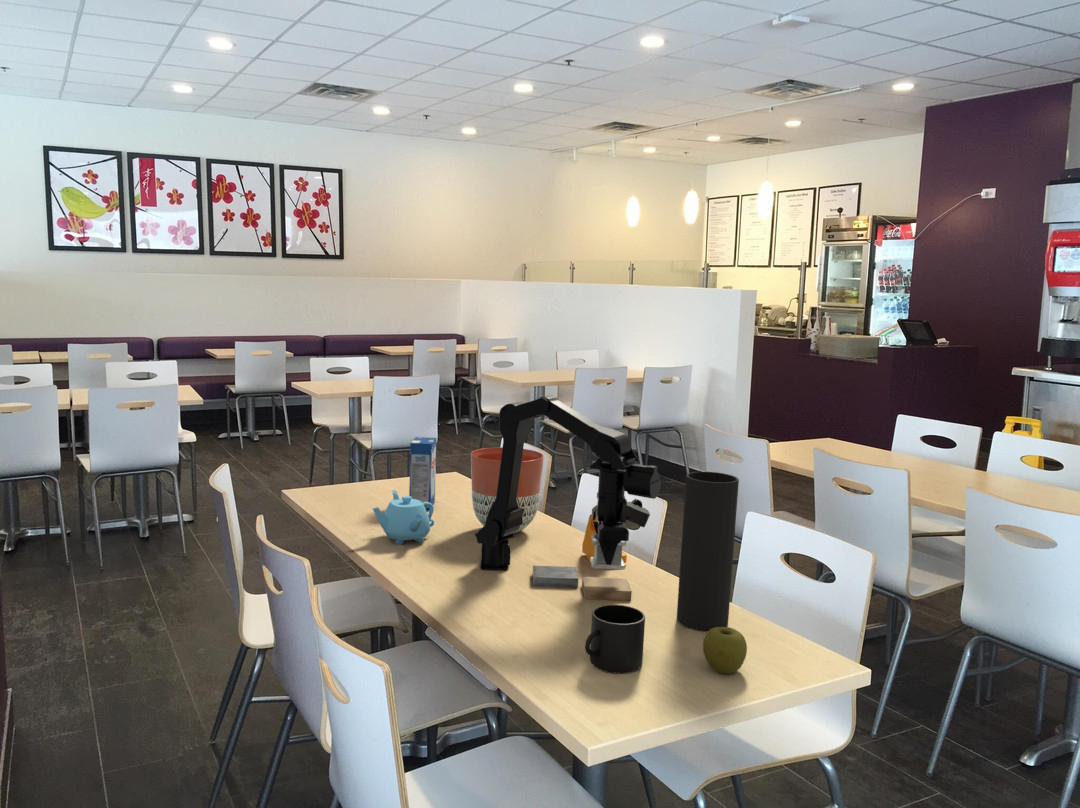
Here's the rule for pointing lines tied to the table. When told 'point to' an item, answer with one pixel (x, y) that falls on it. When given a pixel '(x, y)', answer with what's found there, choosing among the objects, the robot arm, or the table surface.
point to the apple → (724, 649)
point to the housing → (599, 559)
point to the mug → (616, 638)
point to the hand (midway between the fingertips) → (607, 560)
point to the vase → (707, 550)
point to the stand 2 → (606, 588)
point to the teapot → (405, 519)
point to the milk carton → (423, 470)
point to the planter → (486, 482)
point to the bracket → (588, 543)
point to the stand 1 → (555, 576)
